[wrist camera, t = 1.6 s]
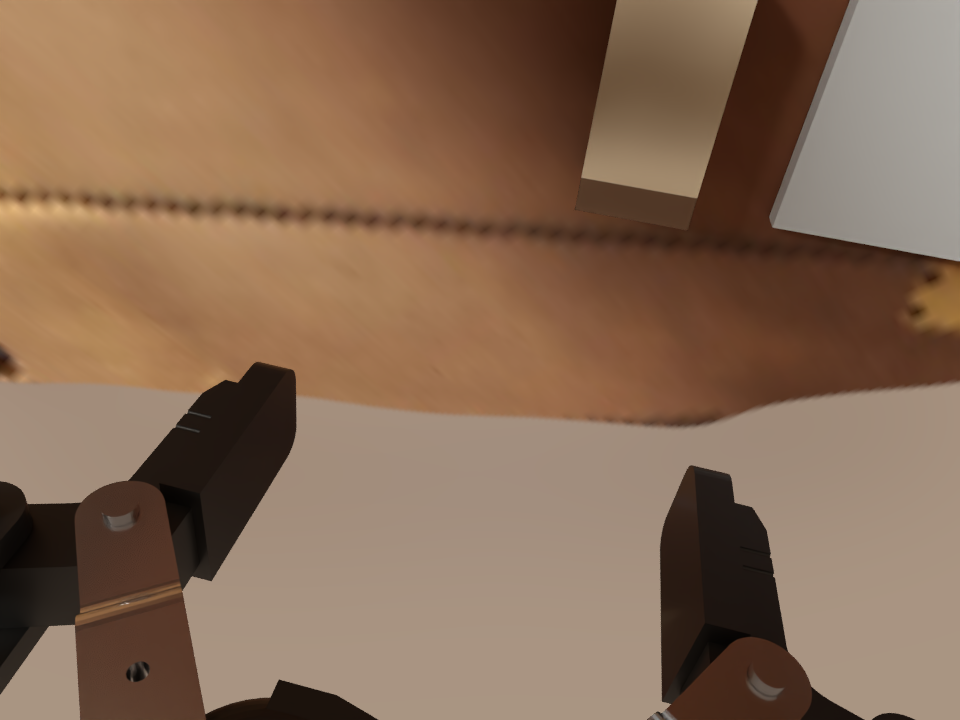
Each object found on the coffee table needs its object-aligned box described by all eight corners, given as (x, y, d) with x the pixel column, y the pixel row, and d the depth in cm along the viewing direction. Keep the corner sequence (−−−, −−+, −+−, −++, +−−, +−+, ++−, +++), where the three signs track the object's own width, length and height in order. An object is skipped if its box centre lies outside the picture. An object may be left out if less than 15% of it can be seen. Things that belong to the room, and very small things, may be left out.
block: (629, -58, 24) (625, -45, 21) (749, -40, 24) (765, -25, 21) (583, 170, 29) (574, 209, 26) (683, 188, 28) (687, 230, 25)
